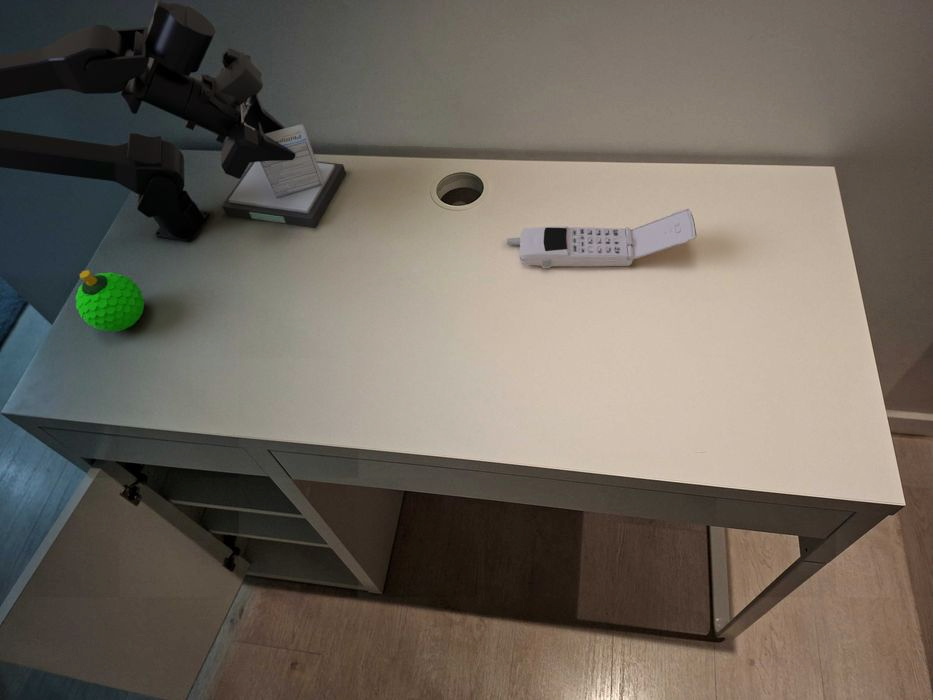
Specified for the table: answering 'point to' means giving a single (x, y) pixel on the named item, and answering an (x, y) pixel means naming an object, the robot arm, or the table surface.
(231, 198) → the kitchen scale
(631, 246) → the mobile phone
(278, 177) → the medicine box
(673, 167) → the table surface
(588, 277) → the table surface
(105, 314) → the ornament
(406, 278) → the table surface
